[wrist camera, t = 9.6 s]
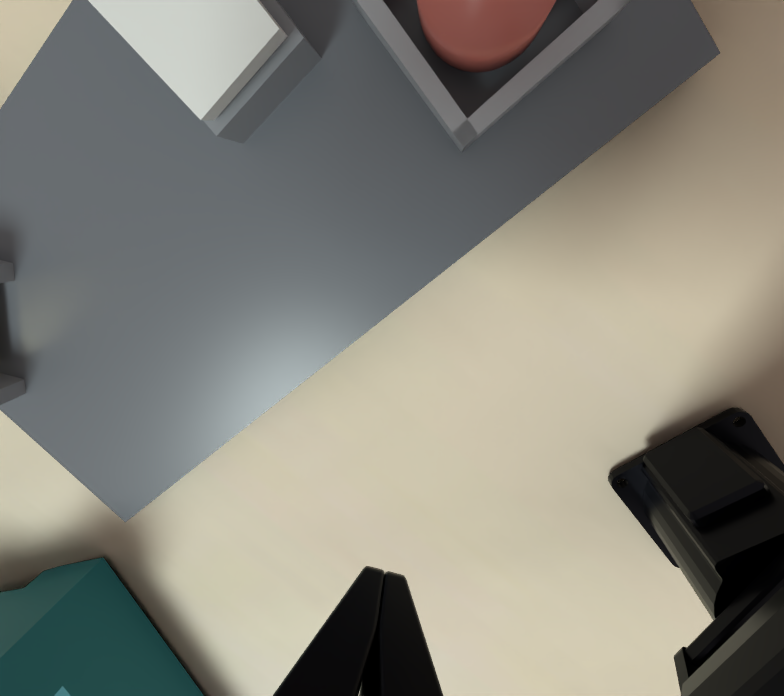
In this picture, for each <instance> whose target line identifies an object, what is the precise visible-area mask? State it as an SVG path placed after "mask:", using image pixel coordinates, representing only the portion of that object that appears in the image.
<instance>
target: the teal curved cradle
mask: <svg viewBox="0 0 784 696" xmlns="http://www.w3.org/2000/svg"><path fill="white" fill-rule="evenodd" d="M0 696H204V695H203V694H202V692H201V691H200V690H199V688H198V687H197V686H196V684H195V683H194V681H193V680H192V679H191V677H190V676H189V675H188V673H187V672H186V670H185V669H184V668H183V666H182V665H181V664H180V662H179V661H178V659H177V658H176V657H175V655H174V654H173V653H172V651H171V650H170V648H169V647H168V646H167V644H166V643H165V642H164V640H163V639H162V637H161V636H160V635H159V633H158V632H157V631H156V629H155V628H154V626H153V625H152V624H151V622H150V621H149V620H148V618H147V617H146V615H145V614H144V613H143V611H142V610H141V609H140V607H139V606H138V604H137V603H136V602H135V600H134V599H133V598H132V596H131V595H130V593H129V592H128V591H127V589H126V588H125V587H124V585H123V584H122V582H121V581H120V580H119V578H118V577H117V576H116V574H115V573H114V571H113V570H112V569H111V567H110V566H109V565H108V563H107V562H106V560H105V559H104V558H98V559H93V560H88V561H83V562H78V563H73V564H68V565H63V566H59V567H56V568H52V569H48V570H45V571H43V572H42V573H41V574H40V575H38V576H37V577H36V578H35V579H34V580H33V581H32V582H30V583H29V584H28V585H27V586H26V587H25V588H21V589H16V590H11V591H5V592H0Z"/></svg>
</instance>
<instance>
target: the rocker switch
mask: <svg viewBox="0 0 784 696" xmlns="http://www.w3.org/2000/svg"><path fill="white" fill-rule="evenodd" d="M88 1H89V2H90V3H91V4H92V5H93V6H94V7H95V8H96V9H97V10H98V11H99V13H100V14H101V15H102V16H103V17H104V18H105V19H106V20H107V21H108V22H109V23H110V24H111V25H112V26H113V27H114V29H115V30H116V31H117V32H118V33H119V34H120V35H121V36H122V37H123V38H124V39H125V40H126V41H127V42H128V43H129V44H130V46H131V47H132V48H133V49H134V50H135V51H136V52H137V53H138V54H139V55H140V56H141V57H142V58H143V59H144V60H145V62H146V63H147V64H148V65H149V66H150V67H151V68H152V69H153V70H154V71H155V72H156V73H157V74H158V75H159V76H160V77H161V79H162V80H163V81H164V82H165V83H166V84H167V85H168V86H169V87H170V88H171V89H172V90H173V91H174V92H175V93H176V94H177V96H178V97H179V98H180V99H181V100H182V101H183V102H184V103H185V104H186V105H187V106H188V107H189V108H190V109H191V110H192V112H193V113H194V114H195V115H196V116H197V117H198V118H199V119H200V120H215V119H216V118H217V117H218V116H219V114H220V113H221V112H222V111H223V110H224V109H225V108H226V106H227V105H228V104H229V103H230V102H231V101H232V100H233V98H234V97H235V96H236V95H237V94H238V93H239V92H240V90H241V89H242V88H243V87H244V86H245V85H246V83H247V82H248V81H249V80H250V79H251V78H252V77H253V75H254V74H255V73H256V72H257V71H258V70H259V69H260V67H261V66H262V65H263V64H264V63H265V62H266V61H267V59H268V58H269V57H270V56H271V55H272V54H273V53H274V51H275V50H276V49H277V48H278V47H279V46H280V45H281V43H282V42H283V41H284V40H285V39H286V38H287V35H286V33H285V32H284V31H283V30H282V28H281V27H280V26H279V24H278V23H277V22H276V21H275V19H274V18H273V17H272V16H271V14H270V13H269V12H268V10H267V9H266V8H265V7H264V5H263V4H262V3H261V2H260V0H88Z"/></svg>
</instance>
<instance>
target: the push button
mask: <svg viewBox="0 0 784 696" xmlns="http://www.w3.org/2000/svg"><path fill="white" fill-rule="evenodd" d="M555 2H556V0H417V7H418V14H419V19H420V24H421V27H422V30H423V33H424V35H425V38H426V40H427V42H428V43H429V45H430V47H431V48H432V49H433V51H434V52H435V53H436V54H437V55H438V56H439V57H440V58H441V59H442V60H443V61H444V62H446V63H447V64H449V65H450V66H452V67H454V68H457V69H459V70H463V71H467V72H487V71H492V70H495V69H498V68H500V67H503V66H505V65H507V64H508V63H510V62H512V61H513V60H515V59H516V58H517V57H518V56H519V55H521V54H522V53H523V52H524V51H525V50H526V49H527V48H528V46H529V45H530V44H531V43H532V41H533V40H534V39H535V37H536V35H537V34H538V32H539V30H540V29H541V27H542V25H543V23H544V21H545V20H546V18H547V16H548V14H549V12H550V11H551V9H552V7H553V5H554V3H555Z"/></svg>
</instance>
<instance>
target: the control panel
mask: <svg viewBox="0 0 784 696" xmlns="http://www.w3.org/2000/svg"><path fill="white" fill-rule="evenodd" d="M260 2H261V3H262V4H263V5H264V7H265V8H266V9H267V10H268V12H269V13H270V14H271V16H272V17H273V18H274V19H275V21H276V22H277V23H278V24H279V26H280V27H281V28H282V30H283V31H284V32H285V33H286V35H287V38H286V39H285V40H284V41H283V42H282V43H281V45H280V46H279V47H278V48H277V49H276V50H275V51H274V53H273V54H272V55H271V56H270V57H269V58H268V59H267V61H266V62H265V63H264V64H263V65H262V66H261V67H260V69H259V70H258V71H257V72H256V73H255V74H254V75H253V77H252V78H251V79H250V80H249V81H248V82H247V83H246V85H245V86H244V87H243V88H242V89H241V90H240V92H239V93H238V94H237V95H236V96H235V97H234V98H233V100H232V101H231V102H230V103H229V104H228V105H227V106H226V108H225V109H224V110H223V111H222V112H221V113H220V114H219V116H218V117H217V118H216V119H215V120H200V119H199V118H198V117H197V116H196V115H195V114H194V113H193V112H192V110H191V109H190V108H189V107H188V106H187V105H186V104H185V103H184V102H183V101H182V100H181V99H180V98H179V97H178V96H177V94H176V93H175V92H174V91H173V90H172V89H171V88H170V87H169V86H168V85H167V84H166V83H165V82H164V81H163V80H162V79H161V77H160V76H159V75H158V74H157V73H156V72H155V71H154V70H153V69H152V68H151V67H150V66H149V65H148V64H147V63H146V62H145V60H144V59H143V58H142V57H141V56H140V55H139V54H138V53H137V52H136V51H135V50H134V49H133V48H132V47H131V46H130V44H129V43H128V42H127V41H126V40H125V39H124V38H123V37H122V36H121V35H120V34H119V33H118V32H117V31H116V30H115V29H114V27H113V26H112V25H111V24H110V23H109V22H108V21H107V20H106V19H105V18H104V17H103V16H102V15H101V14H100V13H99V11H98V10H97V9H96V8H95V7H94V6H93V5H92V4H91V3H90V2H89V1H88V0H73V1H72V2H71V4H70V5H69V7H68V8H67V10H66V11H65V13H64V14H63V16H62V17H61V19H60V20H59V22H58V23H57V25H56V26H55V28H54V29H53V31H52V32H51V34H50V35H49V37H48V38H47V40H46V41H45V43H44V44H43V46H42V47H41V49H40V50H39V52H38V53H37V55H36V56H35V58H34V59H33V61H32V62H31V64H30V65H29V67H28V68H27V70H26V71H25V73H24V74H23V76H22V77H21V79H20V80H19V82H18V83H17V85H16V86H15V88H14V89H13V91H12V92H11V94H10V95H9V97H8V98H7V100H6V101H5V103H4V104H3V106H2V107H1V109H0V410H1V411H2V412H3V413H4V414H6V415H7V416H8V417H9V418H10V419H11V420H12V421H13V422H14V423H16V424H17V425H18V426H19V427H20V428H21V429H22V430H23V431H24V432H26V433H27V434H28V435H29V436H30V437H31V438H32V439H33V440H34V441H36V442H37V443H38V444H39V445H40V446H41V447H42V448H43V449H44V450H46V451H47V452H48V453H49V454H50V455H51V456H52V457H53V458H54V459H56V460H57V461H58V462H59V463H60V464H61V465H62V466H63V467H64V468H66V469H67V470H68V471H69V472H70V473H71V474H72V475H73V476H74V477H76V478H77V479H78V480H79V481H80V482H81V483H82V484H83V485H84V486H86V487H87V488H88V489H89V490H90V491H91V492H92V493H93V494H94V495H96V496H97V497H98V498H99V499H100V500H101V501H102V502H103V503H104V504H106V505H107V506H108V507H109V508H110V509H111V510H112V511H113V512H114V513H116V514H117V515H118V516H119V517H120V518H121V519H122V520H123V521H124V522H126V521H128V520H129V519H130V518H131V517H133V516H134V515H135V514H136V513H138V512H139V511H140V510H141V509H143V508H144V507H145V506H147V505H148V504H149V503H150V502H152V501H153V500H154V499H155V498H157V497H158V496H159V495H161V494H162V493H163V492H164V491H166V490H167V489H168V488H169V487H171V486H172V485H173V484H174V483H176V482H177V481H178V480H180V479H181V478H182V477H183V476H185V475H186V474H187V473H188V472H190V471H191V470H192V469H194V468H195V467H196V466H197V465H199V464H200V463H201V462H202V461H204V460H205V459H206V458H207V457H209V456H210V455H211V454H213V453H214V452H215V451H216V450H218V449H219V448H220V447H221V446H223V445H224V444H225V443H226V442H228V441H229V440H230V439H232V438H233V437H234V436H235V435H237V434H238V433H239V432H240V431H242V430H243V429H244V428H246V427H247V426H248V425H249V424H251V423H252V422H253V421H254V420H256V419H257V418H258V417H259V416H261V415H262V414H263V413H265V412H266V411H267V410H268V409H270V408H271V407H272V406H273V405H275V404H276V403H277V402H278V401H280V400H281V399H282V398H284V397H285V396H286V395H287V394H289V393H290V392H291V391H292V390H294V389H295V388H296V387H298V386H299V385H300V384H301V383H303V382H304V381H305V380H306V379H308V378H309V377H310V376H311V375H313V374H314V373H315V372H317V371H318V370H319V369H320V368H322V367H323V366H324V365H325V364H327V363H328V362H329V361H330V360H332V359H333V358H334V357H336V356H337V355H338V354H339V353H341V352H342V351H343V350H344V349H346V348H347V347H348V346H350V345H351V344H352V343H353V342H355V341H356V340H357V339H358V338H360V337H361V336H362V335H363V334H365V333H366V332H367V331H369V330H370V329H371V328H372V327H374V326H375V325H376V324H377V323H379V322H380V321H381V320H382V319H384V318H385V317H386V316H388V315H389V314H390V313H391V312H393V311H394V310H395V309H396V308H398V307H399V306H400V305H402V304H403V303H404V302H405V301H407V300H408V299H409V298H410V297H412V296H413V295H414V294H415V293H417V292H418V291H419V290H421V289H422V288H423V287H424V286H426V285H427V284H428V283H429V282H431V281H432V280H433V279H435V278H436V277H437V276H438V275H440V274H441V273H442V272H443V271H445V270H446V269H447V268H448V267H450V266H451V265H452V264H454V263H455V262H456V261H457V260H459V259H460V258H461V257H462V256H464V255H465V254H466V253H467V252H469V251H470V250H471V249H473V248H474V247H475V246H476V245H478V244H479V243H480V242H481V241H483V240H484V239H485V238H487V237H488V236H489V235H490V234H492V233H493V232H494V231H495V230H497V229H498V228H499V227H500V226H502V225H503V224H504V223H506V222H507V221H508V220H509V219H511V218H512V217H513V216H514V215H516V214H517V213H518V212H519V211H521V210H522V209H523V208H525V207H526V206H527V205H528V204H530V203H531V202H532V201H533V200H535V199H536V198H537V197H539V196H540V195H541V194H542V193H544V192H545V191H546V190H547V189H549V188H550V187H551V186H552V185H554V184H555V183H556V182H558V181H559V180H560V179H561V178H563V177H564V176H565V175H566V174H568V173H569V172H570V171H571V170H573V169H574V168H575V167H577V166H578V165H579V164H580V163H582V162H583V161H584V160H585V159H587V158H588V157H589V156H591V155H592V154H593V153H594V152H596V151H597V150H598V149H599V148H601V147H602V146H603V145H604V144H606V143H607V142H608V141H610V140H611V139H612V138H613V137H615V136H616V135H617V134H618V133H620V132H621V131H622V130H623V129H625V128H626V127H627V126H629V125H630V124H631V123H632V122H634V121H635V120H636V119H637V118H639V117H640V116H641V115H643V114H644V113H645V112H646V111H648V110H649V109H650V108H651V107H653V106H654V105H655V104H656V103H658V102H659V101H660V100H662V99H663V98H664V97H665V96H667V95H668V94H669V93H670V92H672V91H673V90H674V89H676V88H677V87H678V86H679V85H681V84H682V83H683V82H684V81H686V80H687V79H688V78H689V77H691V76H692V75H693V74H695V73H696V72H697V71H698V70H700V69H701V68H702V67H703V66H705V65H706V64H707V63H708V62H710V61H711V60H712V59H714V58H715V57H716V56H717V55H719V54H720V51H719V50H718V48H717V46H716V44H715V42H714V41H713V39H712V37H711V35H710V34H709V32H708V30H707V28H706V27H705V25H704V23H703V21H702V20H701V18H700V16H699V14H698V12H697V11H696V9H695V7H694V5H693V4H692V2H691V0H556V2H555V3H554V5H553V7H552V9H551V11H550V12H549V14H548V16H547V18H546V20H545V21H544V23H543V25H542V27H541V29H540V30H539V32H538V34H537V35H536V37H535V39H534V40H533V41H532V43H531V44H530V45H529V46H528V48H527V49H526V50H525V51H524V52H523V53H522V54H521V55H519V56H518V57H517V58H516V59H515V60H513V61H512V62H510V63H508V64H507V65H505V66H503V67H500V68H498V69H495V70H492V71H487V72H467V71H463V70H459V69H457V68H454V67H452V66H450V65H449V64H447V63H446V62H444V61H443V60H442V59H441V58H440V57H439V56H438V55H437V54H436V53H435V52H434V51H433V49H432V48H431V47H430V45H429V43H428V42H427V40H426V38H425V35H424V33H423V30H422V27H421V24H420V19H419V14H418V7H417V0H260Z"/></svg>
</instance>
